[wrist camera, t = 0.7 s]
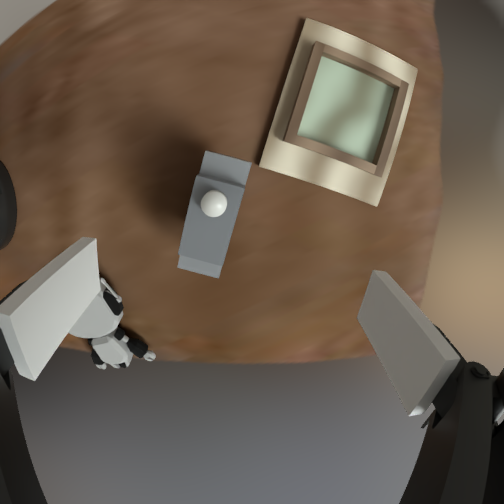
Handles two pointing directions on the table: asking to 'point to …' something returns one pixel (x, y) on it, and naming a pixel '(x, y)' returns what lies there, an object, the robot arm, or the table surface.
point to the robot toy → (108, 331)
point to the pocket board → (340, 113)
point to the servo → (212, 213)
